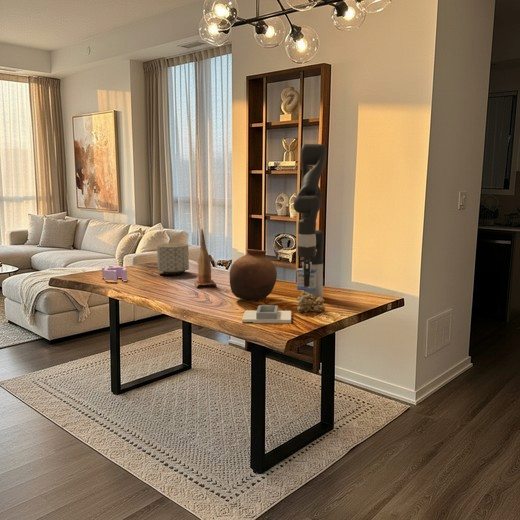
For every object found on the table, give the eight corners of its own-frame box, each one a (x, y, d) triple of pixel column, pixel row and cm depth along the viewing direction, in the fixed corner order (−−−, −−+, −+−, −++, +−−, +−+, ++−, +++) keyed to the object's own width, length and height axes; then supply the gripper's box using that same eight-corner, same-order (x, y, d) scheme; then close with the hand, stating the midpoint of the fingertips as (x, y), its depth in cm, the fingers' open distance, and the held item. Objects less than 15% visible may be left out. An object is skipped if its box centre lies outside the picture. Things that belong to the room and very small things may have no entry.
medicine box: (296, 290, 211) (296, 269, 210) (297, 287, 216) (297, 267, 214) (315, 290, 210) (315, 270, 209) (316, 288, 214) (316, 268, 213)
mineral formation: (295, 314, 221) (291, 303, 235) (326, 318, 222) (320, 307, 237) (299, 297, 219) (294, 287, 234) (329, 301, 220) (323, 291, 235)
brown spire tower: (213, 283, 287) (211, 227, 283) (217, 287, 276) (215, 228, 272) (193, 285, 285) (191, 228, 280) (196, 289, 273) (194, 229, 269)
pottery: (225, 305, 238) (224, 252, 234) (234, 293, 261) (234, 245, 257) (274, 306, 235) (273, 252, 231) (279, 294, 258) (279, 245, 253)
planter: (190, 270, 327) (189, 242, 324) (188, 276, 308) (187, 246, 305) (160, 271, 325) (159, 243, 322) (156, 277, 307) (154, 247, 304)
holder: (245, 313, 223) (245, 304, 222) (291, 314, 221) (291, 305, 221) (242, 322, 209) (241, 313, 208) (290, 323, 208) (290, 313, 207)
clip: (97, 278, 304) (96, 267, 303) (117, 276, 312) (116, 264, 311) (110, 284, 289) (110, 272, 288) (131, 281, 297) (130, 269, 296)
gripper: (297, 242, 217) (297, 281, 220) (297, 247, 203) (297, 289, 206) (315, 242, 216) (315, 281, 219) (316, 247, 202) (316, 289, 205)
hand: (306, 284), depth 212 cm, fingers closed on medicine box, 4 cm apart
